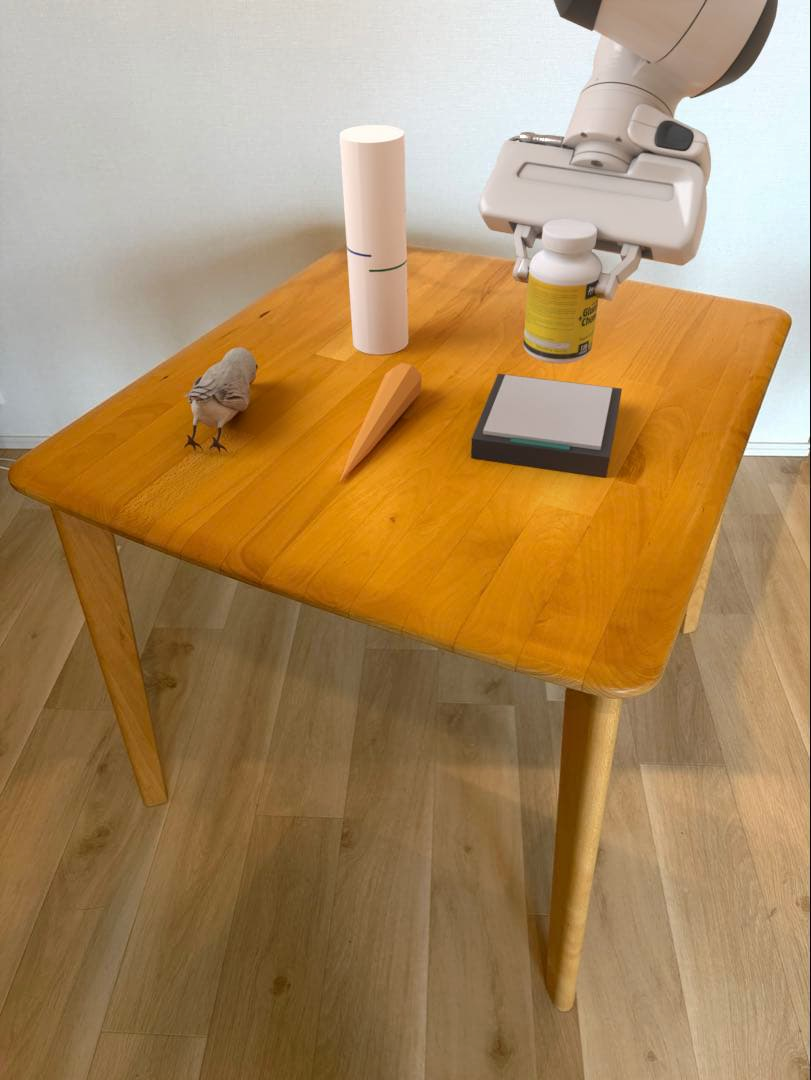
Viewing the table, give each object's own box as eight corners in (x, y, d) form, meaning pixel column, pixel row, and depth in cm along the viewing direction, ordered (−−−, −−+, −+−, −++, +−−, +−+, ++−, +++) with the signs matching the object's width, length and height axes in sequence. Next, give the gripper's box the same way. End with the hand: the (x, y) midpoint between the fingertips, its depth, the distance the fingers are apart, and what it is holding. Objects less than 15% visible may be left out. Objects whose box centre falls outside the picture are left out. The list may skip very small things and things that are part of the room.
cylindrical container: (367, 325, 113) (356, 122, 97) (416, 334, 111) (414, 127, 95) (343, 349, 108) (328, 139, 92) (395, 358, 106) (388, 145, 90)
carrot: (400, 393, 101) (384, 360, 99) (433, 386, 99) (417, 353, 96) (331, 502, 88) (310, 468, 86) (366, 498, 86) (346, 463, 83)
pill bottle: (570, 374, 78) (585, 248, 70) (509, 354, 81) (518, 231, 73) (603, 346, 81) (621, 224, 74) (544, 328, 85) (555, 210, 77)
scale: (618, 407, 96) (622, 384, 94) (606, 477, 86) (610, 453, 84) (496, 392, 99) (498, 369, 98) (470, 458, 89) (471, 434, 87)
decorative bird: (272, 385, 102) (264, 326, 97) (228, 460, 90) (216, 398, 85) (229, 381, 103) (219, 323, 98) (179, 456, 90) (165, 394, 86)
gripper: (499, 109, 78) (447, 251, 78) (726, 138, 70) (669, 296, 70) (516, 148, 84) (468, 280, 83) (727, 179, 76) (675, 325, 76)
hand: (561, 288), depth 76 cm, fingers closed on pill bottle, 6 cm apart
